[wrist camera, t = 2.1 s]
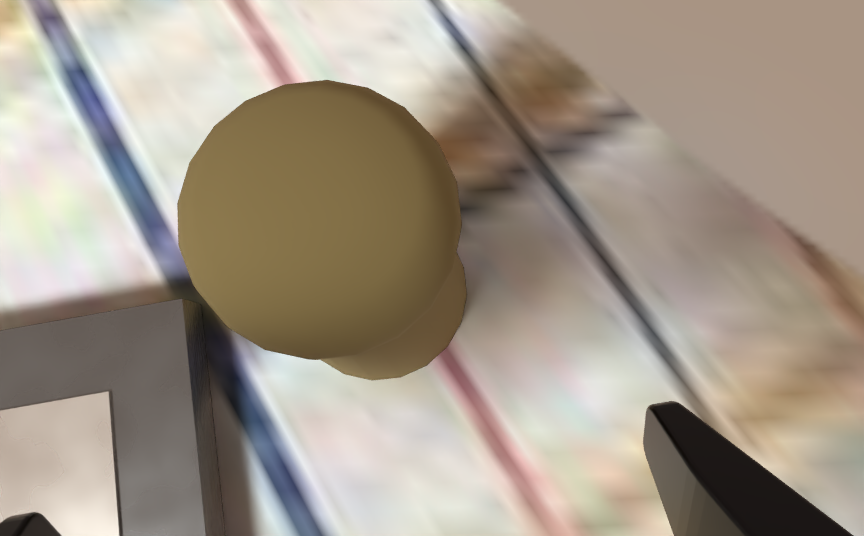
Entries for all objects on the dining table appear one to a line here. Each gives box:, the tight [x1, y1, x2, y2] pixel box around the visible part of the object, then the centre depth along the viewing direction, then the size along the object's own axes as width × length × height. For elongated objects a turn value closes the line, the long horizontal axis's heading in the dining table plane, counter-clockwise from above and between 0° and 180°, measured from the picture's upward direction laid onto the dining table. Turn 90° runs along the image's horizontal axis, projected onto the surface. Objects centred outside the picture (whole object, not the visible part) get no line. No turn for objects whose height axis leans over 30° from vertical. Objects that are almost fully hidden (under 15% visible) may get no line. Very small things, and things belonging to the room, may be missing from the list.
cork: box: [177, 80, 467, 380], centre depth 15 cm, size 6×6×11 cm
